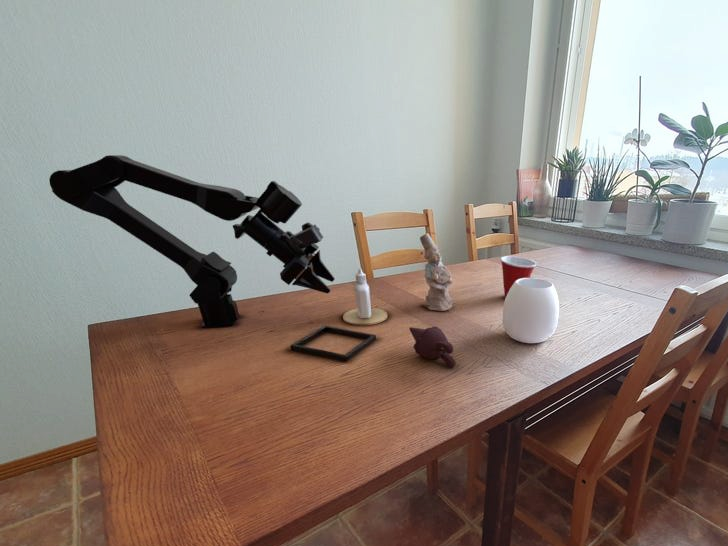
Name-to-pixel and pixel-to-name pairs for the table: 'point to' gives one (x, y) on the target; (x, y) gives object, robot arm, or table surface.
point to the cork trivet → (375, 318)
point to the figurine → (436, 277)
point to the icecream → (433, 344)
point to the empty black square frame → (300, 348)
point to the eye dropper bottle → (362, 296)
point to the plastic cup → (515, 270)
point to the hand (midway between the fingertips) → (331, 285)
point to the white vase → (531, 310)
